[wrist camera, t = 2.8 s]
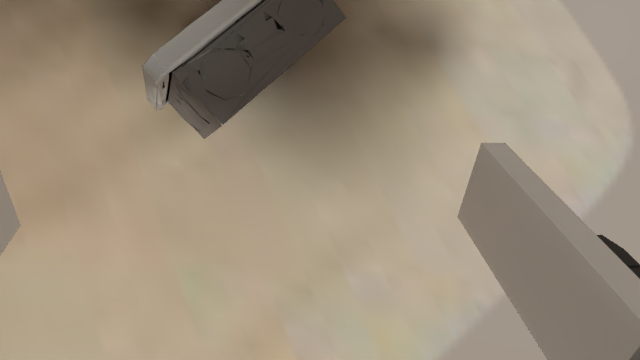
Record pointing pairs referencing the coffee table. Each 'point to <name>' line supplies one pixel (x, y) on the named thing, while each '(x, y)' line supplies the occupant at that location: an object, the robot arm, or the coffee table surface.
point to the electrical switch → (233, 56)
